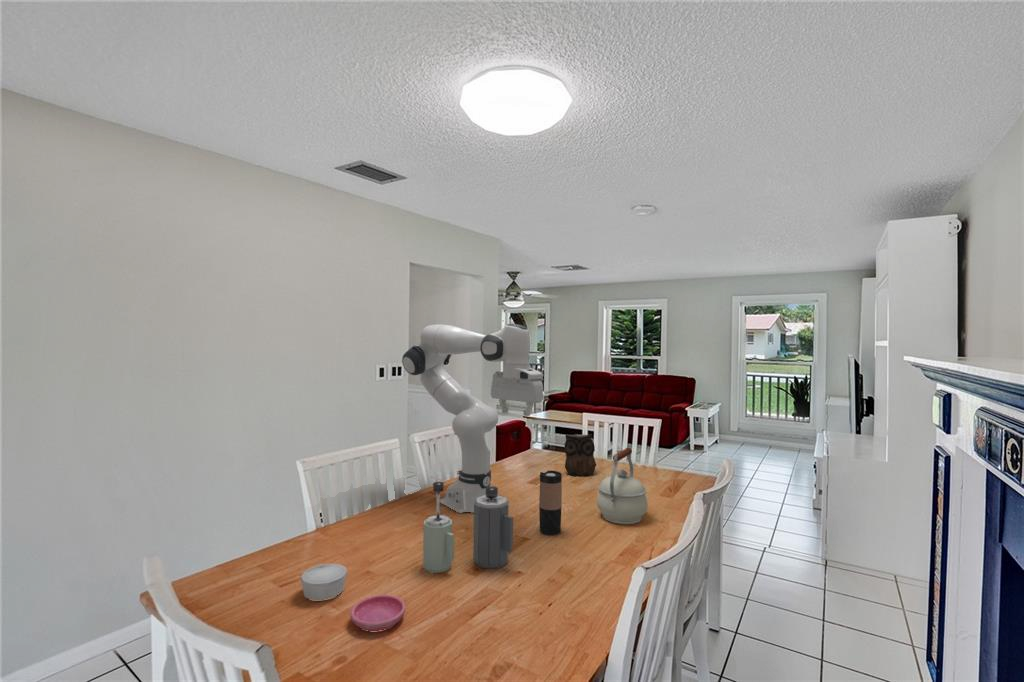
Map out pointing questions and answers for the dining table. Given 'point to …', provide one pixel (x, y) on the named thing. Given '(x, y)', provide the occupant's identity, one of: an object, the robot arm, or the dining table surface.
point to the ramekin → (323, 581)
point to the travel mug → (550, 502)
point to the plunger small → (438, 495)
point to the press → (492, 532)
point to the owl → (579, 455)
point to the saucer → (378, 612)
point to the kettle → (622, 494)
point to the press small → (438, 544)
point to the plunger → (491, 492)
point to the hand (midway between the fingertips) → (515, 414)
